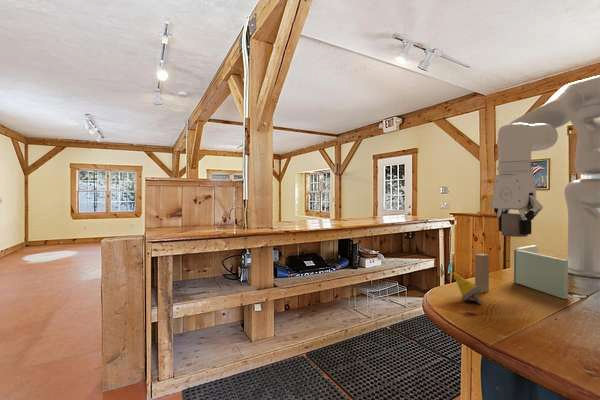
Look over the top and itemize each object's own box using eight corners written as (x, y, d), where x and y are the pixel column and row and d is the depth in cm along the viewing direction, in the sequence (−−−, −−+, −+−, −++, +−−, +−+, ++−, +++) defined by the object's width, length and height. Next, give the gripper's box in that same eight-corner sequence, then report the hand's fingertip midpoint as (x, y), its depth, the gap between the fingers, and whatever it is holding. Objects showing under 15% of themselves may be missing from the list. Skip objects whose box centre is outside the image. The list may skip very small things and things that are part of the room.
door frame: (531, 277, 97) (531, 244, 97) (538, 278, 96) (539, 245, 95) (475, 291, 85) (475, 254, 85) (481, 293, 83) (482, 255, 83)
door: (512, 281, 92) (513, 249, 92) (516, 281, 93) (516, 249, 92) (563, 298, 78) (564, 260, 77) (567, 298, 78) (568, 260, 78)
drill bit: (473, 309, 73) (443, 275, 79) (472, 311, 78) (444, 279, 83) (492, 297, 73) (461, 264, 78) (490, 300, 77) (461, 268, 83)
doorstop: (509, 232, 89) (509, 212, 88) (532, 235, 83) (532, 213, 83) (496, 234, 86) (496, 213, 86) (519, 237, 81) (519, 215, 80)
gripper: (478, 171, 92) (479, 229, 92) (532, 166, 75) (532, 238, 75) (499, 170, 93) (500, 228, 94) (556, 166, 76) (556, 236, 77)
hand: (514, 232), depth 85 cm, fingers closed on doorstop, 6 cm apart
